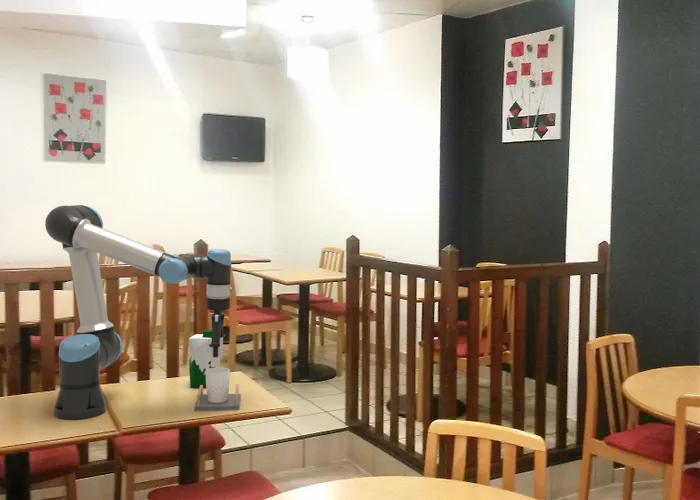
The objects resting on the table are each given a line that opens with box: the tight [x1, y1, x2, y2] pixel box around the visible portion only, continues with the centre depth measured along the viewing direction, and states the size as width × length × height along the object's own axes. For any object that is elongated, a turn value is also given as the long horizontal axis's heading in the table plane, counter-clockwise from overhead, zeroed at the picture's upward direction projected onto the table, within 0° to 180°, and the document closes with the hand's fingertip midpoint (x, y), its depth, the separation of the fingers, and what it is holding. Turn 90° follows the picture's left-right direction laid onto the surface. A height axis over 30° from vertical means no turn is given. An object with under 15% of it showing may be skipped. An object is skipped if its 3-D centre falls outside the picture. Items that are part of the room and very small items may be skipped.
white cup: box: [205, 366, 231, 403], centre depth 222 cm, size 8×8×10 cm
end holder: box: [193, 383, 242, 412], centre depth 223 cm, size 14×14×5 cm
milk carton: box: [188, 329, 215, 389], centre depth 244 cm, size 9×9×20 cm
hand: (216, 361), depth 222 cm, fingers open, 13 cm apart
